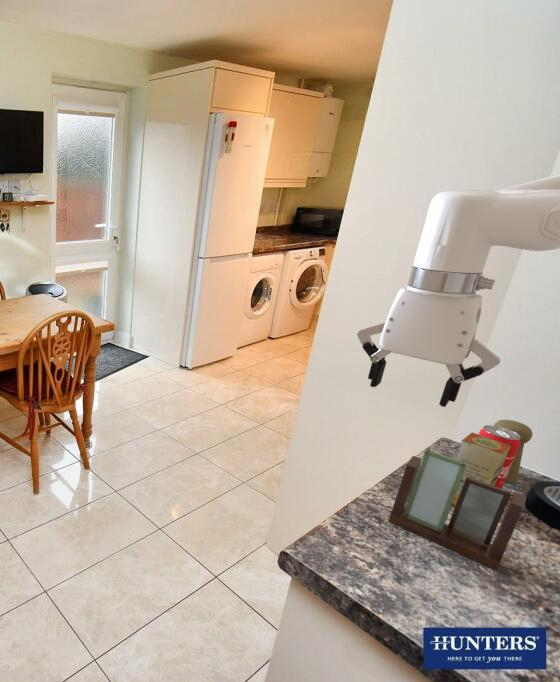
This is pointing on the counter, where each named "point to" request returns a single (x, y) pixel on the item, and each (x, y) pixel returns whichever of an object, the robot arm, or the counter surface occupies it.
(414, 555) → the counter surface
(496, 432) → the beverage can
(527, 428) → the cork
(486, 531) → the window frame
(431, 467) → the window pane
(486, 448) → the shoe polish box
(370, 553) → the counter surface
